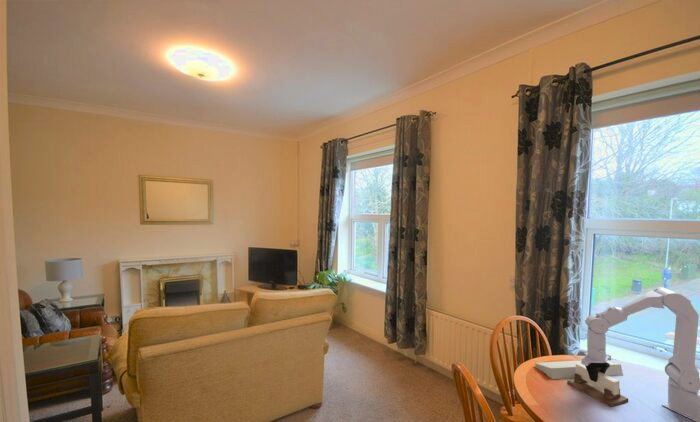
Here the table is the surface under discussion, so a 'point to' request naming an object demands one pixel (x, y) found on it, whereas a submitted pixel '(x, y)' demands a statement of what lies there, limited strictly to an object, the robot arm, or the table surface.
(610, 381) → the cream rectangular block
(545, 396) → the table surface
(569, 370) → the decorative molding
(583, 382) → the walnut rack
